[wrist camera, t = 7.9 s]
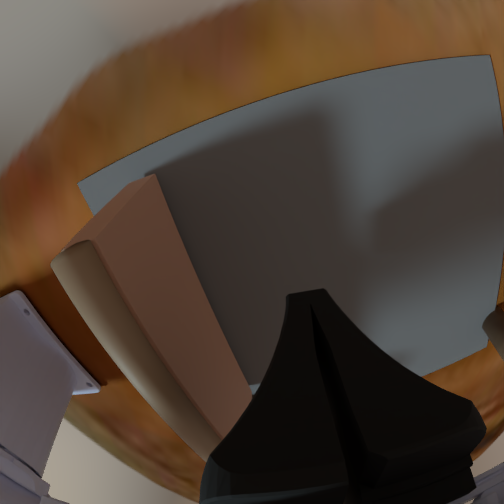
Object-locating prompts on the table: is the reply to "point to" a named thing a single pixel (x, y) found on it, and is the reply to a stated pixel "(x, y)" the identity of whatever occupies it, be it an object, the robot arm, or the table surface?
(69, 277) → the brown rimmed panel
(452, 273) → the mat
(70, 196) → the table surface
